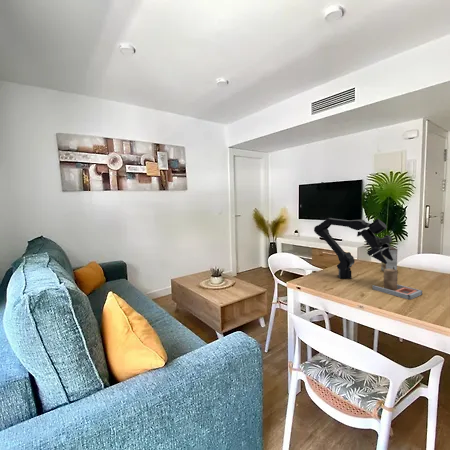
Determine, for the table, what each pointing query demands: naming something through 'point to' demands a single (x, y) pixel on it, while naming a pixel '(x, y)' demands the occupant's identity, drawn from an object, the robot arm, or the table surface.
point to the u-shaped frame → (402, 295)
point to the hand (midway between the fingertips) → (389, 262)
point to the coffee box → (390, 263)
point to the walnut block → (390, 279)
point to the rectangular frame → (406, 291)
